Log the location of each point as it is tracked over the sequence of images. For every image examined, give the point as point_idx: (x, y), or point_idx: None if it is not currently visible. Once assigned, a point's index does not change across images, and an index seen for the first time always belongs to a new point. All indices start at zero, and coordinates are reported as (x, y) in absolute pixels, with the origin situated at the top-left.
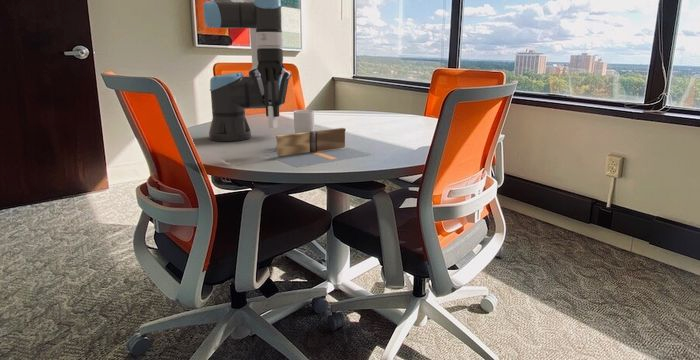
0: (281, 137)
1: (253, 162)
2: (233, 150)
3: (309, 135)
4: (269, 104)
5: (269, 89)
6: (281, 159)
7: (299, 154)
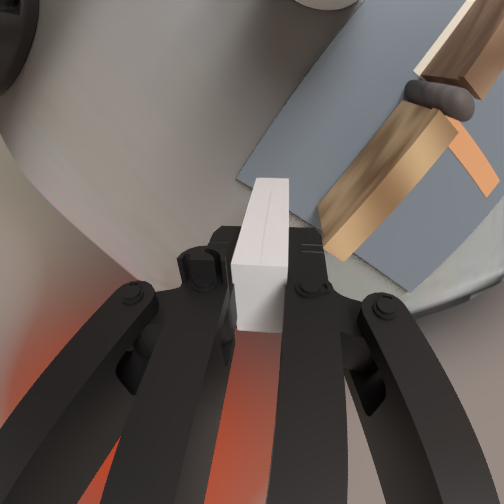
0: (352, 249)
1: None
2: (99, 156)
3: (443, 112)
4: (233, 323)
5: (199, 473)
6: None
7: None
